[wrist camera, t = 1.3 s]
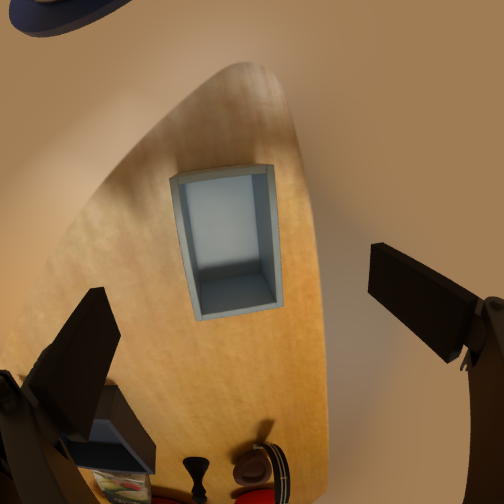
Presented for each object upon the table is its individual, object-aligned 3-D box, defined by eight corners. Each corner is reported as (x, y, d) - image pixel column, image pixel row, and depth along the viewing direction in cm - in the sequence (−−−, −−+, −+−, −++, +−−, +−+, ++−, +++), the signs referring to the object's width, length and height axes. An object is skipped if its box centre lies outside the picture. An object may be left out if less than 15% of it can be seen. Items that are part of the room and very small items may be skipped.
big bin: (23, 381, 25) (10, 407, 19) (117, 385, 27) (109, 419, 22) (70, 440, 30) (64, 464, 24) (156, 446, 32) (155, 474, 27)
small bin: (177, 173, 21) (168, 177, 15) (255, 163, 22) (274, 164, 16) (196, 285, 24) (196, 321, 19) (265, 274, 25) (283, 306, 20)
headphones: (252, 484, 39) (286, 420, 35) (269, 543, 25) (321, 498, 21) (221, 485, 38) (246, 420, 34) (234, 546, 23) (271, 507, 19)
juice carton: (89, 441, 30) (84, 470, 24) (147, 453, 32) (146, 483, 27) (109, 481, 36) (107, 503, 30) (152, 489, 38) (153, 511, 33)
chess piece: (177, 462, 34) (180, 510, 25) (194, 454, 34) (198, 506, 24) (197, 469, 36) (202, 515, 26) (214, 461, 35) (221, 510, 26)
